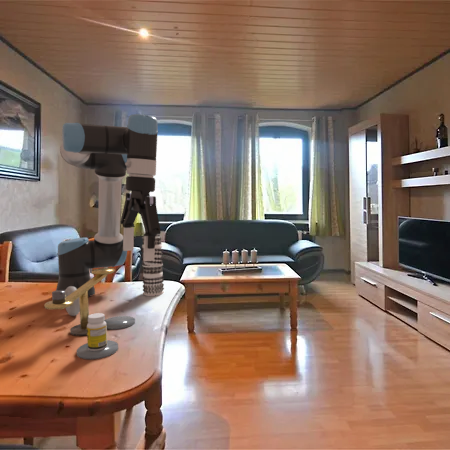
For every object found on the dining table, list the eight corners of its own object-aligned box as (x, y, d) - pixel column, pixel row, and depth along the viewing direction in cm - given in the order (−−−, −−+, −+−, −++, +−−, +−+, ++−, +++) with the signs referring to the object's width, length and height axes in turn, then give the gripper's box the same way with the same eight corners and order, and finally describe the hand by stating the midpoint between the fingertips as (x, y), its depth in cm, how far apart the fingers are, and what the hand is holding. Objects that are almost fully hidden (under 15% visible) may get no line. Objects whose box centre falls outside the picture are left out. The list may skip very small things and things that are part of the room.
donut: (63, 313, 122) (61, 284, 122) (73, 311, 125) (72, 283, 124) (72, 320, 115) (70, 289, 114) (83, 317, 117) (81, 288, 116)
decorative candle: (138, 295, 143) (136, 234, 142) (147, 290, 153) (145, 232, 151) (160, 296, 142) (158, 234, 140) (167, 290, 151) (166, 232, 150)
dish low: (67, 356, 87) (67, 353, 87) (94, 341, 97) (94, 338, 97) (101, 361, 84) (101, 358, 84) (126, 345, 94) (125, 342, 94)
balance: (39, 346, 94) (35, 285, 93) (101, 316, 119) (99, 267, 117) (63, 350, 91) (60, 287, 90) (122, 318, 116) (120, 268, 115)
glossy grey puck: (94, 327, 108) (94, 325, 107) (114, 317, 117) (114, 314, 117) (123, 330, 104) (122, 328, 104) (141, 319, 114) (141, 317, 114)
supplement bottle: (90, 344, 93) (89, 312, 92) (109, 343, 93) (108, 312, 93) (85, 352, 88) (83, 318, 87) (104, 350, 88) (103, 317, 88)
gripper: (110, 174, 101) (108, 247, 103) (148, 176, 81) (144, 267, 84) (135, 175, 105) (132, 246, 108) (177, 178, 86) (172, 264, 88)
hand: (137, 255), depth 96 cm, fingers open, 13 cm apart
